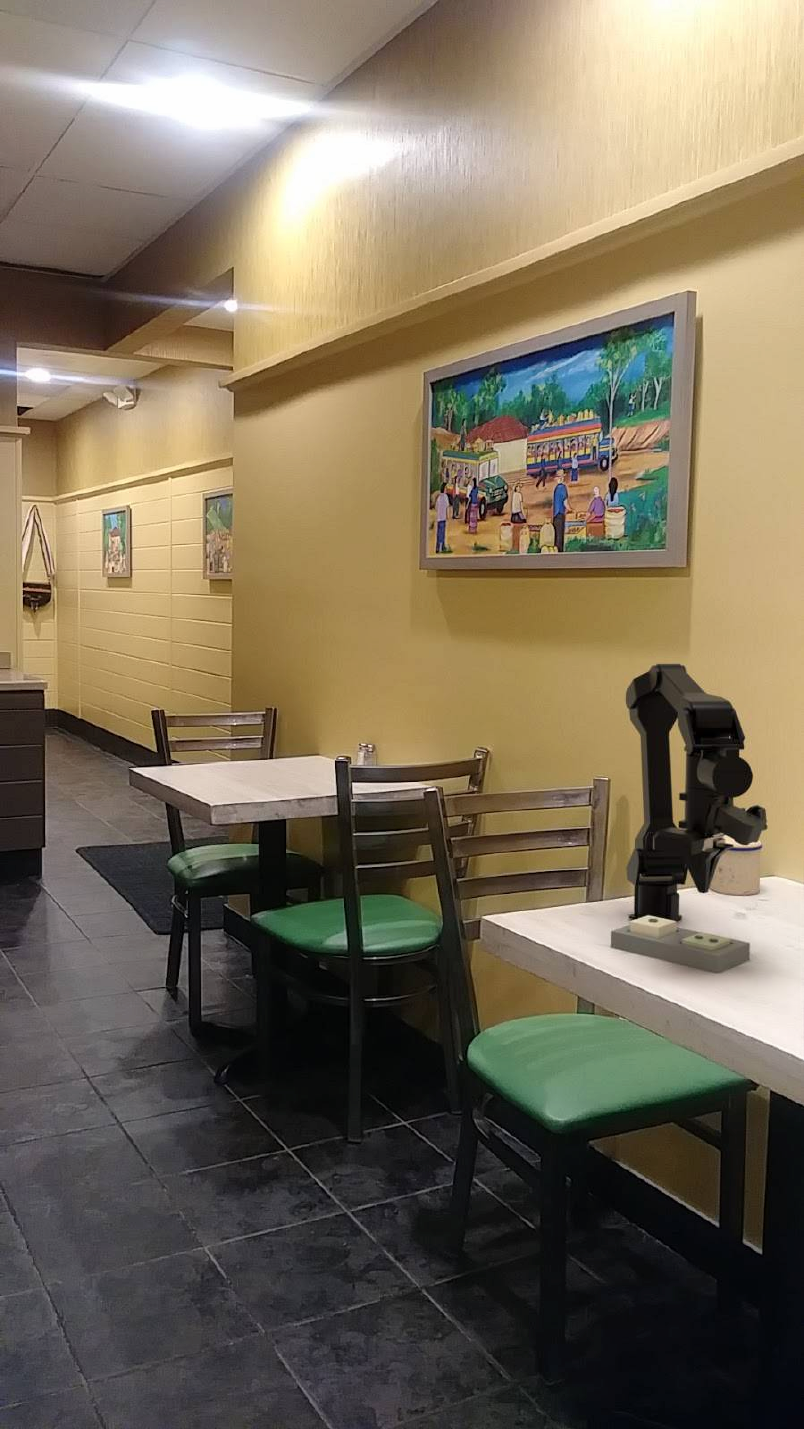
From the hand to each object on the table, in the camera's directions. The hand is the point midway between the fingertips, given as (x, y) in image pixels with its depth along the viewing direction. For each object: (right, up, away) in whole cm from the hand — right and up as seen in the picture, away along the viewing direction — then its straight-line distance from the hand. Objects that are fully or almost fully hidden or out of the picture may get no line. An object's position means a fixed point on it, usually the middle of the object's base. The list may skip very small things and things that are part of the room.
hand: (703, 892), depth 169 cm
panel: (-3, -10, +4) cm, 11 cm away
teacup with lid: (+16, -6, +43) cm, 46 cm away
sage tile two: (+1, -9, 0) cm, 9 cm away
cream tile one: (-6, -7, +6) cm, 11 cm away
